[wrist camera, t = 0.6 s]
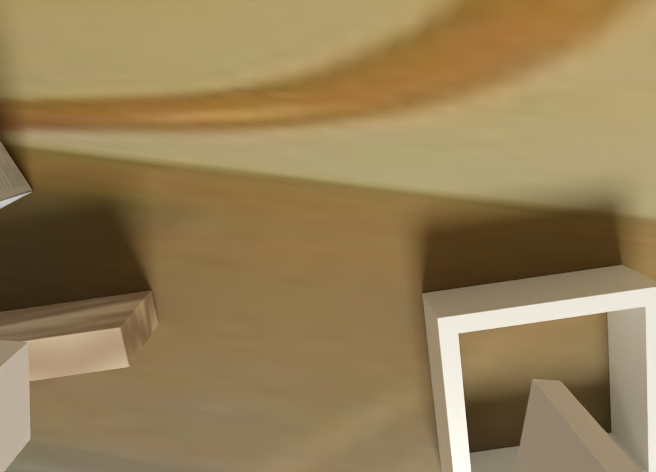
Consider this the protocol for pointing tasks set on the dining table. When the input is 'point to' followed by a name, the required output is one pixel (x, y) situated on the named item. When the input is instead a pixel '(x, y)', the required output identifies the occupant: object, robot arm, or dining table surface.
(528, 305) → the frame
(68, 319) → the board
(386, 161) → the dining table surface
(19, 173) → the light bulb box
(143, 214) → the dining table surface
